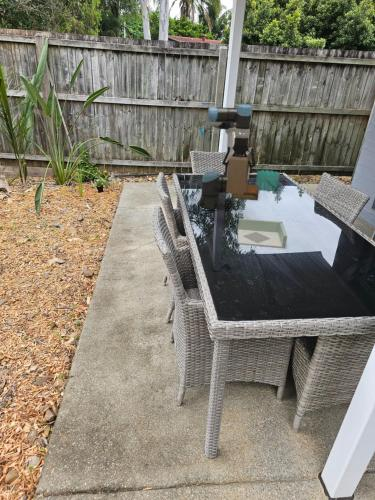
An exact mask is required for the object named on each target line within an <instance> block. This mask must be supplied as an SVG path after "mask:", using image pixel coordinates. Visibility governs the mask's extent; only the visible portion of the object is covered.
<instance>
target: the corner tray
mask: <svg viewBox="0 0 375 500" xmlns="http://www.w3.org/2000/svg"><path fill="white" fill-rule="evenodd" d="M237 224H238V226H237V244H238V245H244V246H252V247H253V246H254V247H265V248H275V249H277V248H278V249H286V246H287V241H288V240H287V238H288V235H287V232H286V229H285V225H284V222H283V221H279V220H278V221H276V220H274V221H273V220H263V219H250V218H238V223H237Z"/></svg>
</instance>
